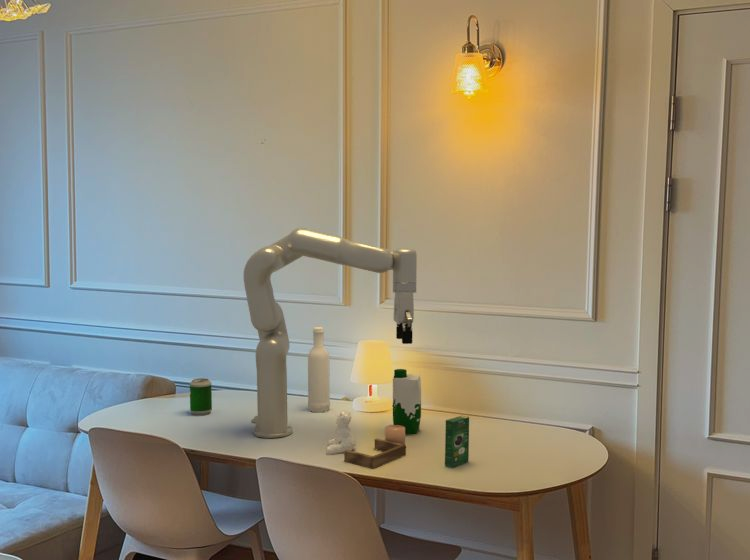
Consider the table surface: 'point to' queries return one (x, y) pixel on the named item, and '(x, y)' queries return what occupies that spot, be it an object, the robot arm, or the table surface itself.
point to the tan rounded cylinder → (395, 434)
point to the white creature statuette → (342, 436)
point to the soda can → (200, 396)
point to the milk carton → (406, 400)
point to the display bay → (390, 454)
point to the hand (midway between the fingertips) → (404, 341)
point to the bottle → (318, 374)
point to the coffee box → (457, 441)
